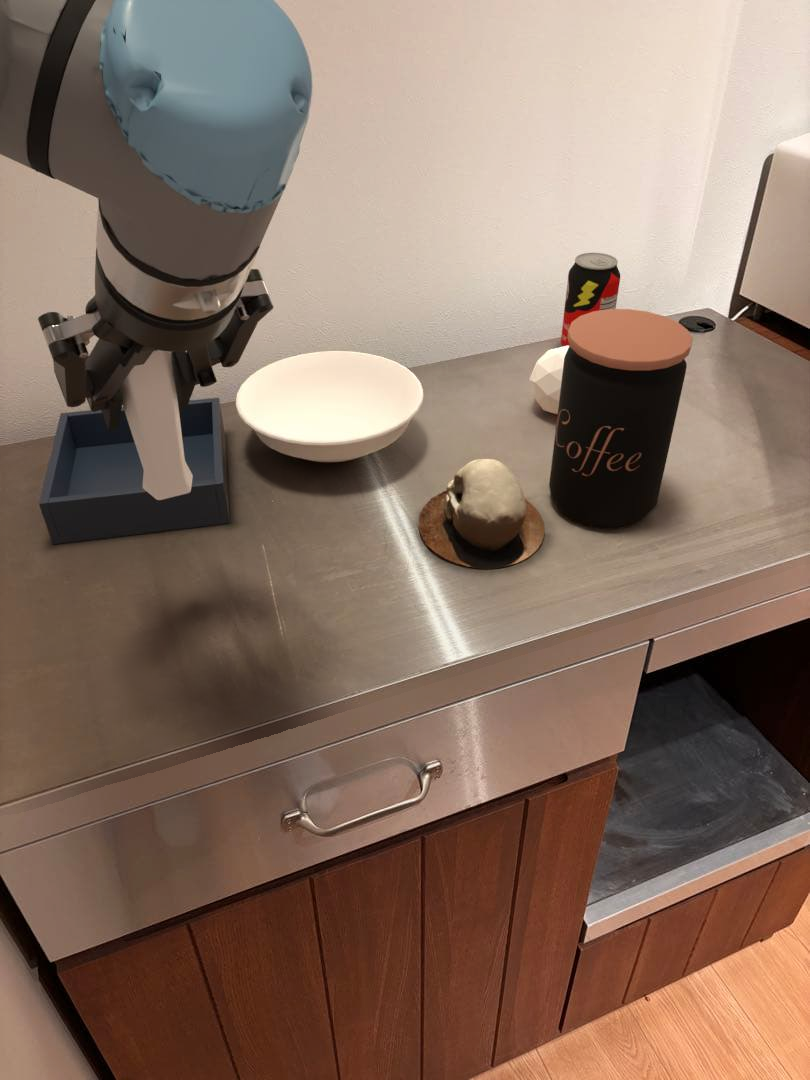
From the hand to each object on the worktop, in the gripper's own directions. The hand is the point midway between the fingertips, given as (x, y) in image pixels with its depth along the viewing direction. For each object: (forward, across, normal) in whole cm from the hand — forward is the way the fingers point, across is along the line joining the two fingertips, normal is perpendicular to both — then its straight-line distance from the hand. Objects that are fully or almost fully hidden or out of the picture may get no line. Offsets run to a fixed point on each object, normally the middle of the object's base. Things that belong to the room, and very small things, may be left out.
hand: (141, 403), depth 65 cm
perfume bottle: (+1, 0, -7) cm, 7 cm away
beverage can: (+25, +60, -1) cm, 65 cm away
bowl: (+23, +22, -3) cm, 32 cm away
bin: (+24, +2, -1) cm, 25 cm away
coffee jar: (+6, +40, -20) cm, 45 cm away
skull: (+8, +27, -18) cm, 34 cm away
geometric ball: (+17, +48, -8) cm, 52 cm away
